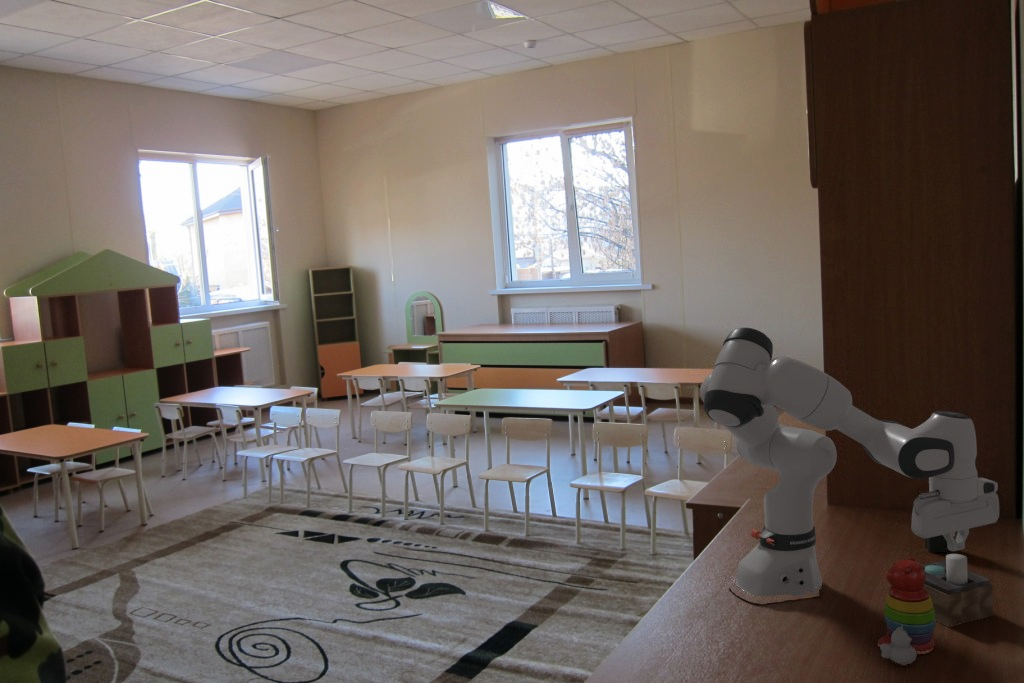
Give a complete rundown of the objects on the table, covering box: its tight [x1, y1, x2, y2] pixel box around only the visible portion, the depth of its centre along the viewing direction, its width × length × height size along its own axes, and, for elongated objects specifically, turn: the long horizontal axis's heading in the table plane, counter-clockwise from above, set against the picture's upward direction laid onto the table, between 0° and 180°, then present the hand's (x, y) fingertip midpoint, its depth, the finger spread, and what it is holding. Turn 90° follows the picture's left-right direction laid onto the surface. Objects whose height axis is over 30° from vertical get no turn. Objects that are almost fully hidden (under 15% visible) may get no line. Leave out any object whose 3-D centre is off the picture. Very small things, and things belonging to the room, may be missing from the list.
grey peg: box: [945, 553, 968, 586], centre depth 183 cm, size 4×4×8 cm
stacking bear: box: [877, 556, 936, 652], centre depth 173 cm, size 11×10×18 cm
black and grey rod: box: [924, 477, 951, 553], centre depth 219 cm, size 5×5×25 cm
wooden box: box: [921, 559, 994, 626], centre depth 187 cm, size 12×13×8 cm
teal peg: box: [925, 565, 945, 576], centre depth 190 cm, size 4×4×8 cm
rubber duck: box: [879, 626, 918, 664], centre depth 167 cm, size 5×7×8 cm
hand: (956, 549), depth 183 cm, fingers closed
